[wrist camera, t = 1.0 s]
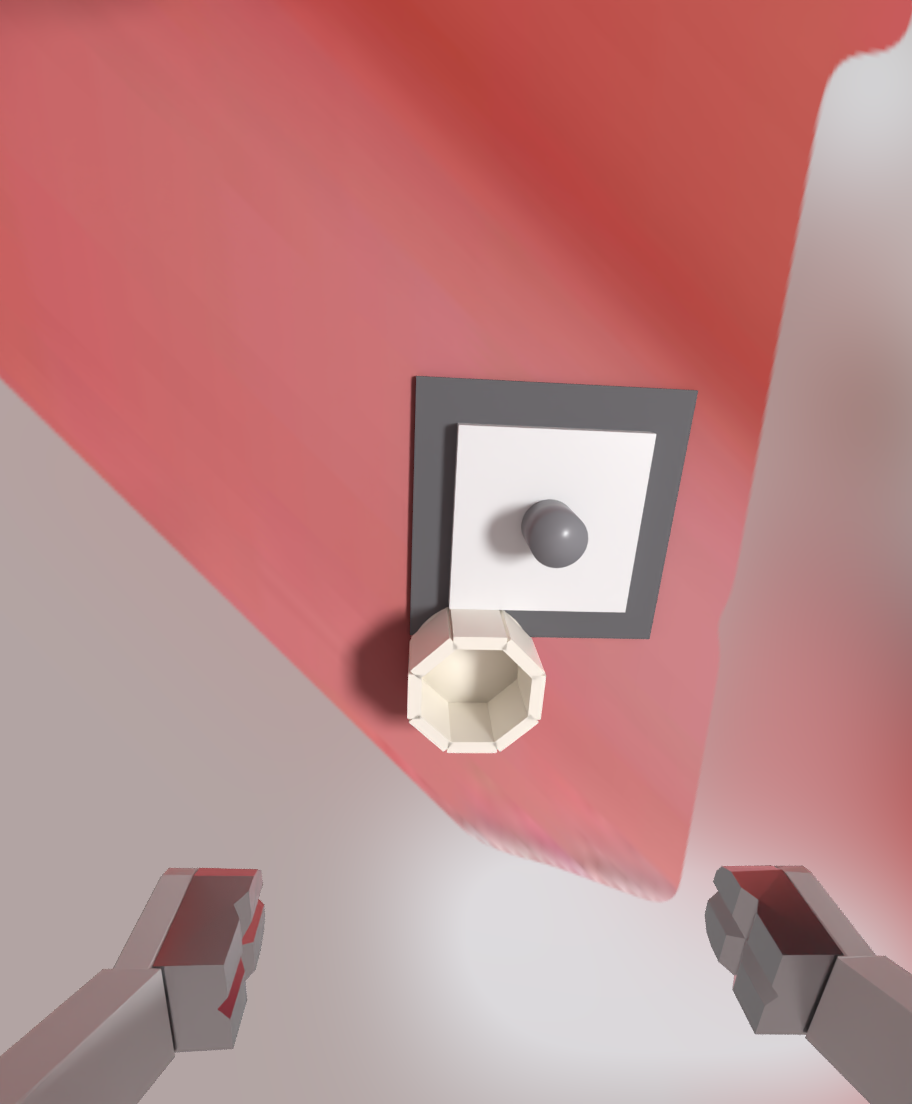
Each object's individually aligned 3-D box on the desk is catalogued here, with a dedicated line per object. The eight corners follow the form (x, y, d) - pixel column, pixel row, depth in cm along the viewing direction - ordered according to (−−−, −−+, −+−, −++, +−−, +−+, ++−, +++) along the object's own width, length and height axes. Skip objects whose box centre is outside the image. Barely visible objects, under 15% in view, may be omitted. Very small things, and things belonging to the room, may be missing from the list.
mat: (416, 375, 37) (416, 376, 37) (695, 390, 39) (698, 390, 38) (410, 632, 44) (409, 634, 44) (647, 636, 46) (649, 639, 45)
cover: (457, 422, 38) (462, 431, 34) (649, 431, 39) (678, 441, 35) (448, 602, 43) (451, 630, 39) (620, 605, 44) (641, 633, 40)
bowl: (410, 599, 43) (409, 636, 38) (534, 601, 44) (550, 638, 38) (408, 704, 47) (406, 752, 41) (522, 705, 47) (536, 753, 42)
